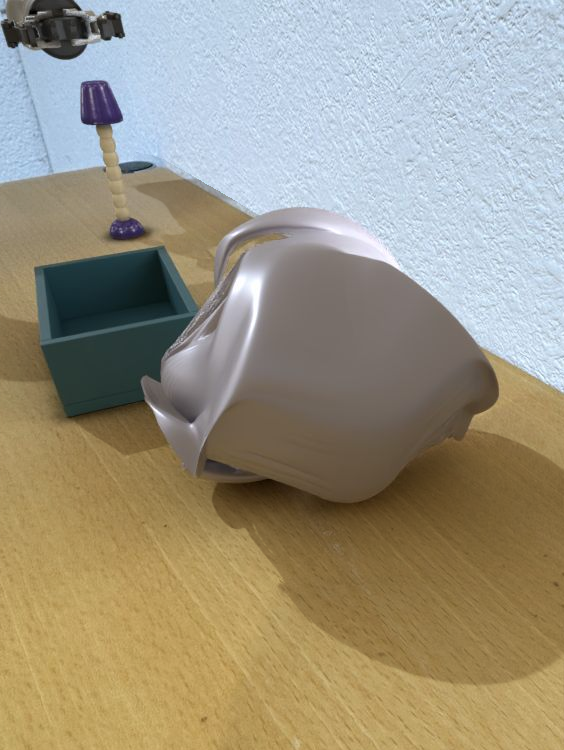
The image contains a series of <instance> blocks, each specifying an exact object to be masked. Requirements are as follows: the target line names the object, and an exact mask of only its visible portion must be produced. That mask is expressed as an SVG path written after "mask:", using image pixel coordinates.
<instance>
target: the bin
mask: <svg viewBox="0 0 564 750" xmlns="http://www.w3.org/2000/svg"><path fill="white" fill-rule="evenodd" d="M33 271H34V273H33V274H34V284H35V295H36V296H35V297H36V308H37V318H38V320H37V321H38V330H39V343H40V344H39V345H40V349H41V351H42V354H43V356H44V359H45V362H46V365H47V368H48V370H49V373H50V376H51V379H52V381H53V384H54V386H55V389H56V393H57V394H58V397H59V400H60V403H61V406H62V409H63V411H64V414H65V416H66V418H70V417H75V416H79V415H83V414H88V413H93V412H97V411H102V410H106V409H110V408H114V407H120V406H124V405H128V404H133V403H137V402H142V401H145V399H144V397H145V395H144V392H143V389H142V385H141V380H142V377H143V376H146V375H147V376H148V377H149V378H151V379H154V380H156V381H158V382H159V383H161V374H160V371H161V364H162V363H161V360H162V358H163V356H164V355H165V353H166V352H167V350H168V349H169V348H170V347H171V346H173V344H174V343H175V342H176V340H177V339H178V337H180V336H181V334H182V333H183V332H184V330H185V329H186V328H187V326H188V325H189V324H190V322H191V321H192V320H193V318H194V317H195V316H196V314H197V313H198V312H199V310H200V308H199V306H198V305H197V303H196V301H195V299H194V297H193V296H192V294H191V292H190V290H189V288H188V286H187V285H186V283H185V281H184V279H183V277H182V276H181V274H180V272H179V269H178V268H177V267H176V265H175V263H174V261H173V259H172V257H171V256H170V254H169V251H168V250H167V248H166V246H165V245H159V246H152V247H148V248H141V249H134V250H128V251H122V252H116V253H109V254H105V255H98V256H92V257H87V258H80V259H74V260H68V261H61V262H55V263H49V264H43V265H38V266H34V267H33ZM145 398H146V397H145Z"/></svg>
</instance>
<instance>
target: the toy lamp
mask: <svg viewBox="0 0 564 750" xmlns="http://www.w3.org/2000/svg"><path fill="white" fill-rule="evenodd" d="M79 89H80V90H79V91H80V95H79V96H80V97H79V99H80V106H79V107H80V109H79V110H80V112H79V113H80V121H81V124H83V125H87V126H95V131H96V134H97V136H98V137H99V138H98V143H99V148H100V149H101V151H102V160H103V161H102V162H103V163H104V165H105V174H106V177H107V179H108V188H109V191H110V192H111V201H112V204H113V206H114V214H115V217H116V218H117V219H115V220H114V221H112V222H111V224H110V227H109V236H110V237H111V238H112V239H119V240H127V239H134V238H137V237H140V236H142V235H144V233H146V231H145V229H144V226H143V224H142V223H141V222H140V221H139V220H137V219H135V218H133V217H131V211H130V209H129V207H128V197H127V195H126V193H125V190H126V189H125V188H126V187H125V183H124V180H123V179H122V176H123V172H122V169H121V167H120V165H119V164H120V159H119V155H118V153H117V151H116V150H117V145H116V140H115V138H114V137H113V135H114V133H113V132H114V131H113V130H114V129H113V127H112V125H115V124H120V123H121V122H124V116H123V113H122V111H121V108H120V106H119V104H118V102H117V99H116V97H115V94H114V92H113V90H112V88H111V86H110V84H109V83H108V81H107V80H103V79H101V80H99V79H96V80H85V81H82V82H81V83H80V88H79Z"/></svg>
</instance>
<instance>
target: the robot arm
mask: <svg viewBox="0 0 564 750" xmlns="http://www.w3.org/2000/svg"><path fill="white" fill-rule="evenodd" d="M5 16H6V18H3V20H1V21H0V27H1V30H2V33H3V36H4V39H5V42H6V46H7V48H11V49H16V48H18V47H19V45H20V44H22V46H23V47H24V48H26V49H28V50H30V51H34V52H35V51H42V52H44V53H45V54H46V55H48V56H50V57H51V58H53V59H57V60H62V61H70V60H74V59H76V58H78V57H80V56H81V55H82V54H83V53H84V52H85V51H86V49H87V47H88V45H89V44H90V45H93V44H98V43H101V42H102V41H104V42H110V41H112V39H113V38H118V39H119V40H120V39H121V40H122V39H124V38H126V32H125V29H124V25H123V22H122V15H121V13H118V12H114V11H109V10H104V12H102V13H100V14H99V15H96V14H95V12H94V11H93V10H83V9H82V8H81V6H80V5H79V4H78V3H77V2H76V1H75V0H6V3H5Z"/></svg>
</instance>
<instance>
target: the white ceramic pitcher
mask: <svg viewBox="0 0 564 750" xmlns="http://www.w3.org/2000/svg"><path fill="white" fill-rule="evenodd" d="M270 235H291V236H289V237H284V238H279V239H274V240H270V241H265V242H261V243H259V244H257V245H256V244H255V245H253V246H252V247H250V248H246V249H245V251H244V252H242V253H240V255H239V257H238V258H237V260H236V262H235V263H234V264H233V265H232V267H230V270H229V271H228V272H227V273H226V274H225V272H226V269H227V267H228V262H229V260H230V257H231V256H232V255H233V254H235V253H236V252H237V251H239V250H240V249H242V248H243V247H245V246H246V245H248V244H249V243H251V242H253V241H256V240H258V239H261V238H263V237H267V236H270ZM213 283H214V288H215V290H213V291H212V294H211V295H210V296H209V297H208V298H207V300H206V301H205V302H204V304H203V305H202V307H200V308H199V312H198V313H197V314H196V316H195V317H194V318H193V320H192V321H191V322H190V324H189V325H188V326H187V328H186V329H185V330H184V332H183V333H182V334H181V336H180V337H178V339H177V340H176V342H175V343H174V344H173V346H171V347H170V348H169V349H168V350H167V352H166V353H165V355H164V356H163V358H162V360H161V363H162V364H161V371H160V374H161V383H159V382H158V381H156V380H154V379H151V378H149V377H148V376H147V375H146V376H143V377H142V380H141V385H142V389H143V392H144V395H145V397H146V398H145V397H144V399H145V400H144V401H145V403H146V404H147V405H148V407H149V408H150V409H151V410H152V412H153V414H154V416H155V419H156V422H157V425H158V427H159V429H160V431H161V432H162V434H163V436H164V438H165V440H166V442H167V444H168V445H169V446H170V447H171V449H172V450H173V452H174V454H175V455H176V457H178V458H179V460H180V461H181V463H182V464H181V465H182V471H183V472H185V473H187V474H188V475H191V476H193V477H194V478H196V479H201V480H205V481H211V482H215V483H222V484H224V483H225V484H244V483H245V484H247V483H254V482H259V481H263V480H268V479H270V480H272V481H276V482H279V483H282V484H285V485H287V486H290V487H292V488H296V489H298V490H300V491H304V492H307V493H309V494H311V495H314V496H316V497H318V498H320V499H321V500H325V501H327V502H328V501H329V502H331V503H332V502H333V503H340V504H354V503H355V504H356V503H360V502H364V501H367V500H369V499H371V498H373V497H375V496H376V495H378V494H380V493H381V492H383V491H384V490H385V489H386V488H387V487H389V486H390V485H391V484H392V483H393V482H394V481H395V479H396V478H397V477H398V476H399V475H400V473H401V472H402V470H404V469H405V467H407V466H408V465H409V464H410V463H412V462H413V461H414V460H415V459H417V458H418V457H419V456H421V455H422V454H423V453H424V452H426V451H427V450H428V449H430V448H432V447H434V446H437V445H438V446H439V445H440V444H442V443H443V442H445V440H447V439H454V440H455V441H457V442H461V441H463V439H465V437H466V435H467V434H468V431H469V427H470V425H471V423H472V421H473V418H474V417H475V416H476V415H479V414H482V413H484V412H486V411H488V410H490V409H491V408H492V407H494V405H496V403H497V402H498V400H499V396H500V385H499V380H498V377H497V374H496V372H495V370H494V368H493V365H492V363H491V362H490V360H489V359H488V356H487V355H486V354H485V351H483V350H482V348H481V346H480V345H479V343H478V342H477V341H476V340H475V338H473V336H472V335H471V334H470V332H469V331H468V330H467V329H466V328H465V326H464V325H463V324H462V323H461V322H460V321H459V320H458V318H456V316H455V315H454V314H453V313H452V312H451V311H450V310H449V309H448V308H447V307H446V306H445V305H443V303H442V302H440V301H439V300H438V299H437V298H436V297H435V296H433V295H432V293H430V292H429V291H427V289H425V288H424V287H423V286H422V285H420V284H419V283H418V282H416V281H415V280H414V279H412V278H411V277H410V276H408V275H407V274H405V272H403V269H402V268H401V266H400V264H399V263H398V261H397V260H396V258H395V256H394V255H393V254H392V253H391V251H390V250H389V249H388V247H387V246H386V245H385V244H384V243H383V242H382V241H381V240H380V239H379V238H378V237H377V236H375V235H374V233H372V232H371V231H369V230H368V229H367V228H365V227H364V226H363V225H361V224H359V223H357V222H356V221H354V220H352V219H351V218H349V217H347V216H346V217H345V215H341V214H339V213H337V212H335V211H331V210H328V209H323V208H318V207H309V206H295V207H294V206H293V207H285V208H280V209H279V208H278V209H275V210H272V211H268V212H265V213H262V214H260V215H258V216H255V217H253V218H250V219H249V220H246V221H245V222H243V223H241V224H239V225H238V226H236V227H235V228H233V229H232V230H231V231H228V233H227V234H226V235H224V237H222V239H220V241H219V243H218V245H217V246H216V249H215V253H214V259H213Z"/></svg>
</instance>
